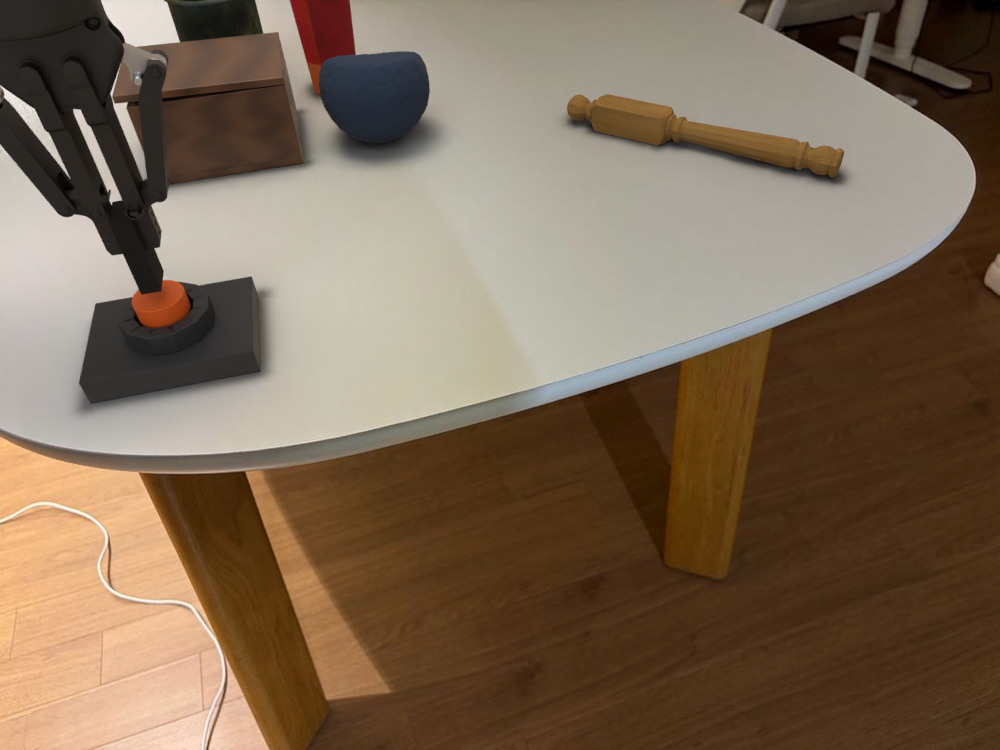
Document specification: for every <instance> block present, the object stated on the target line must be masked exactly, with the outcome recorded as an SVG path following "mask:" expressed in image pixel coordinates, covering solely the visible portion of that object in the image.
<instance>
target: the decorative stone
mask: <svg viewBox="0 0 1000 750" xmlns="http://www.w3.org/2000/svg"><path fill="white" fill-rule="evenodd" d="M429 78H430V77H429V72H428V68H427V65H426V63H425V61H424V60H423V58H422V56H421V55H420V54H419V53H417V52H415V51H408V50H407V51H406V50H405V51H398V50H397V51H386V52H385V51H383V52H377V53H361V54H356V55H346V56H336V57H333V58H330V59H328V60H326V61H324V63H323V64H322V66H321V69H320V73H319V89H320V95H319V96H320V99H321V103H322V105H323V107H324V109H325V112H326V114H328V116H329V118H330V119H331V120H332V122H333V123H334V124H335V125H336V126H337V127H338V129H340V130H341V131H342V132H344V133H345V134H347V135H348V136H350V137H351V138H354V139H356V140H359V141H362V142H365V143H370V144H377V145H378V144H385V143H389V142H392V141H395V140H396V139H397V138H399V137H402V136H404V135H405V136H406V134H408V133H409V132H410V131H412V130H413V129H414V127H415V126H417V124H418V123H419V122H420V121H421V119H422V117H423V115H424V114H425V112H426V110H427V107H428V105H429V98H430V93H431V89H430V79H429Z"/></svg>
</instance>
